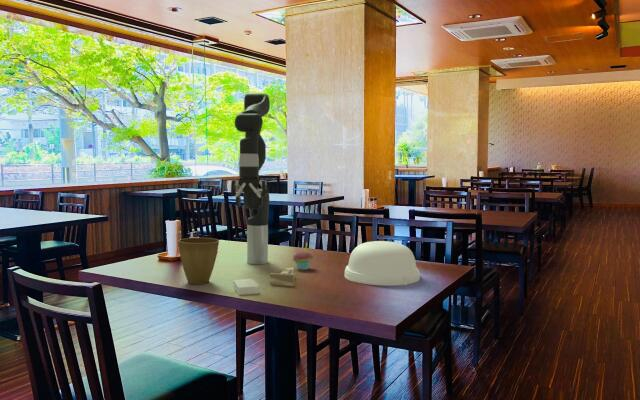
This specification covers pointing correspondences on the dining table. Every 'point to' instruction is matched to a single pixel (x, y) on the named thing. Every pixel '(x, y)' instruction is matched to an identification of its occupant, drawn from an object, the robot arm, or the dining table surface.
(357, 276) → the dome cover
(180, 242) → the plant pot
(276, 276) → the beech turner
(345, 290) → the dining table surface
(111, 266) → the dining table surface
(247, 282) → the pink white upright block
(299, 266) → the cupcake
